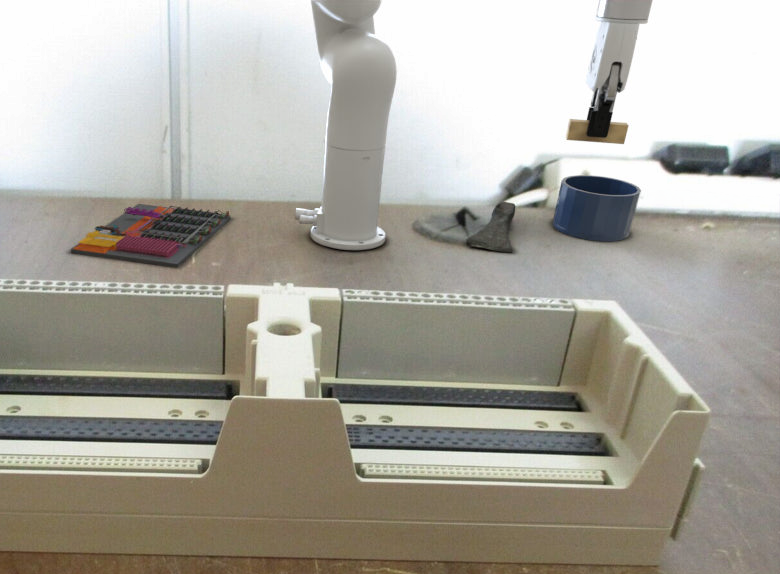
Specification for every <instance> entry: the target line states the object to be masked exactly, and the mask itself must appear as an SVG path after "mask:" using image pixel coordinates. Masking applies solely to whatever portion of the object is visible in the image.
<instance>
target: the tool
mask: <svg viewBox="0 0 780 574" xmlns="http://www.w3.org/2000/svg"><path fill="white" fill-rule="evenodd" d="M515 215H516V204H515V203H513V202H508V201H500V202H498V203H497V204H496V205H495V206H494V208H493V210H492V212H491V215H490V216H491V217H490V220H489V222H488V223H487V224H486V225H485V226H483V227H482V228H481V229H480V230H479V231H478V232H477V233H475V234H473V235H471V236H468V238H466V240H465V241H466V244H468V245H469V247H472V248H478V249H484V250H488V251H489V250H490V251H494V252H502V253H513V247H512V244H511V240H510V238H509V227H510V225H511V223H512V221H513V220H514V217H515Z"/></svg>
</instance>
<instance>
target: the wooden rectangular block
mask: <svg viewBox="0 0 780 574" xmlns="http://www.w3.org/2000/svg"><path fill="white" fill-rule="evenodd" d="M588 124H589V120H587V119H576V118H569V120H568V124H567V129H566V133H565V140H566V141H576V142H590V143H603V144H616V145H625V142H626V138H627V133H628V130H629V124H628V122H620V121H611V122H610V127H609V131H608V135H607V137H606V138H600V137H588V136H587V129H588Z"/></svg>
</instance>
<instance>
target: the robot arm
mask: <svg viewBox="0 0 780 574" xmlns="http://www.w3.org/2000/svg"><path fill="white" fill-rule="evenodd" d="M382 1H383V0H310V5H311V13H312V18H313V19H312V20H313V26H314V34H315V40H316V47H317V53H318V59H319V65H320V68H321V71H322V73H323V75H324V77H325V79H326V80H327V82H328V83H329V84H330V85H331V87H330V97H329V103H328V109H327V116H326V128H325V140H324V141H325V143H324V144H325V147H324V161H323V162H324V164H323V176H322V177H323V178H322V191H321V192H322V194H321V205H320V207H319V208H314V210H311V209H306V208H297V207H296V208H295V213H294V219H295V221H299V224H302V225H313V226H312V227H310V238H311V239H312V240H313V242H315V243H316V244H318V245H321V246H323V247H327V248H331V249H334V250H335V249H336V250H343V251H364V250H365V251H366V250H367V251H368V250H372V249H376V248H378V247H380V246H383V244H384V243H385V242H386V236H387V235H386V232H385V231H384V230H383V229H382V228H381V227H379V226H378V222H379V212H380V202H381V192H382V184H383V174H384V163H385V154H386V143H387V135H388V134H387V133H388V127H389V118H390V113H391V106H392V103H393V98H394V94H395V88H396V83H397V71H398V69H397V63H396V58H395V55H394V53H393V51H392V49H391V47H390V46H389V45H388V44H387V42H385V41H384V40H383V39H382V38H381V37H379V36H377V35H376V29H375V21H374V16H375V14H377V12H378V11H379V9H380V7H381V4H382ZM652 4H653V0H598V5H597V11H596V16H595V19H594V21H598V22H599V26H598V30H597V33H596V36H595V40H594V44H593V48H592V51H591V56H590V61H589V64H588V68H587V72H586V75H585V84H586V85H587V86H588V88H589V89H590V90H591V92H592V97H591V101H590V107H588V111H587V116H586V120H589V124H588V129H587V136H588V137H600V138H606V137H607V135H608V131H609V127H610V122H612V118H613V113H614V112H613V111H614V107H615V103H616V98H617V94H618V93H619V94H620V93H622V92H623V91H624V90H625V88H626V85H627V83H628V78H629V75H630V70H631V67H632V62H633V58H634V54H635V53H634V52H635V49H636V43H637V40H638V34H639V30H640V29H639V28H640V25H646V24H648V21H649V16H650V12H651V9H652Z"/></svg>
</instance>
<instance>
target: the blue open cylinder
mask: <svg viewBox="0 0 780 574" xmlns="http://www.w3.org/2000/svg"><path fill="white" fill-rule="evenodd" d="M641 193H642V189H640V187H639V186H638V185H636V184H634V183H631V182H629V181H626V180H623V179H618V178H613V177H608V176H601V175H591V174H586V175H585V174H576V175H569V176H565V177H563V178H562V179H561V182H560V187H559V190H558V196H557V200H556V205H555V208H554V214H553V218H552V219H553V220H552V226H553V228H554V229H555V230H557V231H558V232H560V233H563V234H565V235H568V236H570V237H573V238H578V239H580V240H581V239H582V240H588V241H595V242H618V241H622V240H625V239H627V238H628V237H629V236H630V232H631V229H632V225H633V223H634V219H635V215H636V211H637V207H638V204H639V201H640V197H641Z"/></svg>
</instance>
